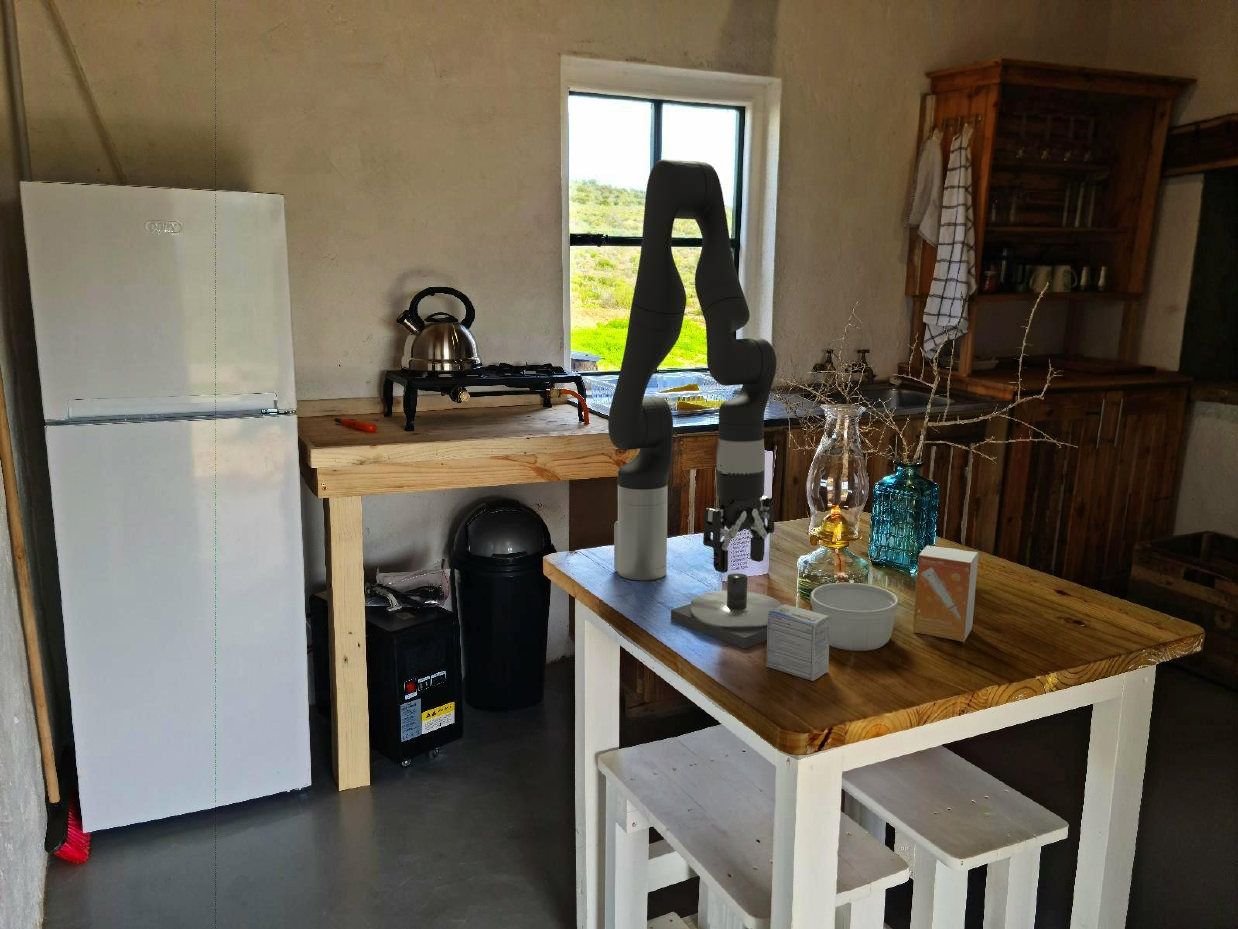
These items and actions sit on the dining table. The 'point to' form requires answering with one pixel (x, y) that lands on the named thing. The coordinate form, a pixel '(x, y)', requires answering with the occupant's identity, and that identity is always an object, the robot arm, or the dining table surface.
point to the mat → (719, 629)
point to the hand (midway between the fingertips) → (739, 566)
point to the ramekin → (856, 614)
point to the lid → (733, 606)
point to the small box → (945, 592)
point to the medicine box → (798, 641)
